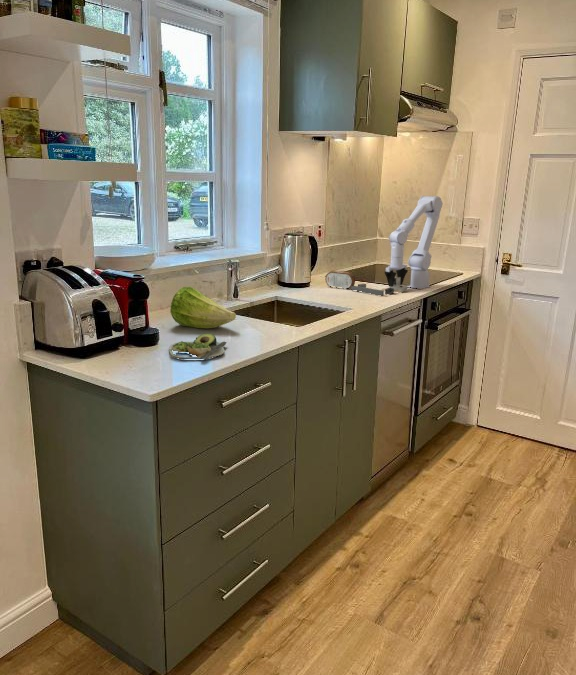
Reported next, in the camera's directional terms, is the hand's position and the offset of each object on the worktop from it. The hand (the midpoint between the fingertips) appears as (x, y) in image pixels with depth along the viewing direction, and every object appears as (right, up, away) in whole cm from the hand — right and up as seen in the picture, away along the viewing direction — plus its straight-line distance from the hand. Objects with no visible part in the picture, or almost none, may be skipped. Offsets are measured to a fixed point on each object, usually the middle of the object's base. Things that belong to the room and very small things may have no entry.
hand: (395, 285), depth 276 cm
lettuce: (-80, -22, -71) cm, 109 cm away
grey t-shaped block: (+1, -2, -1) cm, 3 cm away
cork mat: (0, -2, +1) cm, 2 cm away
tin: (-26, -1, +5) cm, 27 cm away
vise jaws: (-12, -4, -4) cm, 13 cm away
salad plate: (-79, -30, -99) cm, 130 cm away
